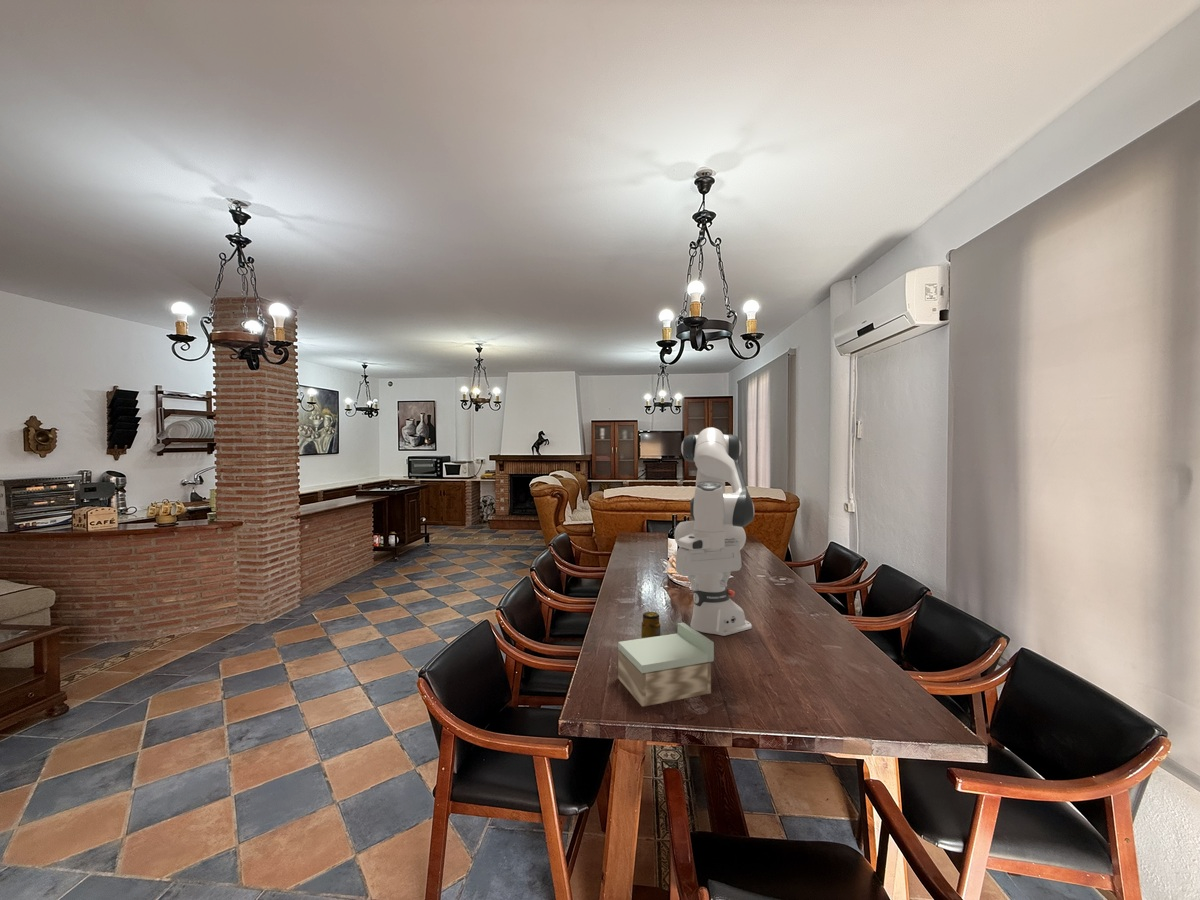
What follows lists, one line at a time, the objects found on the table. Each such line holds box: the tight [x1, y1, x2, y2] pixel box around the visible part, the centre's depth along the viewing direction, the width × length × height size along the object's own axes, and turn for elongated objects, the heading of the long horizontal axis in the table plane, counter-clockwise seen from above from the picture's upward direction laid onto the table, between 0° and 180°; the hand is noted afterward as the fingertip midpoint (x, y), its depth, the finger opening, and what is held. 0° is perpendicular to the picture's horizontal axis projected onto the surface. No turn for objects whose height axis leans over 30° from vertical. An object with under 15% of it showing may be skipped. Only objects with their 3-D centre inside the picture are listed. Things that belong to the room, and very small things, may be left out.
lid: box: [617, 622, 715, 673], centre depth 128 cm, size 21×16×5 cm
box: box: [617, 649, 712, 707], centre depth 128 cm, size 20×16×8 cm
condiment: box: [641, 611, 662, 639], centre depth 150 cm, size 7×8×12 cm
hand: (709, 588), depth 134 cm, fingers open, 8 cm apart
